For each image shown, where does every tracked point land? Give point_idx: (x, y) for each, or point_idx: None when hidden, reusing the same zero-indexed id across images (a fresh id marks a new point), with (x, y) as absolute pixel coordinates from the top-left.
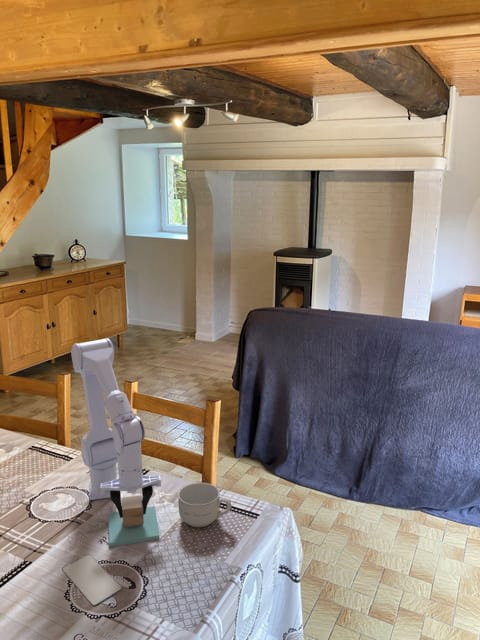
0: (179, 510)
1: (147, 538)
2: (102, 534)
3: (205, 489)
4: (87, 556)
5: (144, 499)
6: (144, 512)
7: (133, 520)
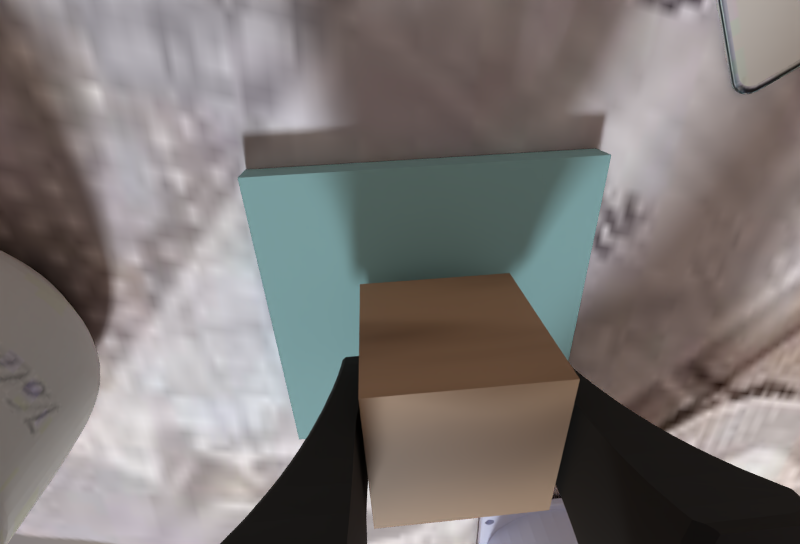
0: (45, 365)
1: (333, 168)
2: (608, 271)
3: None
4: (757, 72)
5: (336, 486)
6: (351, 366)
7: (442, 303)
